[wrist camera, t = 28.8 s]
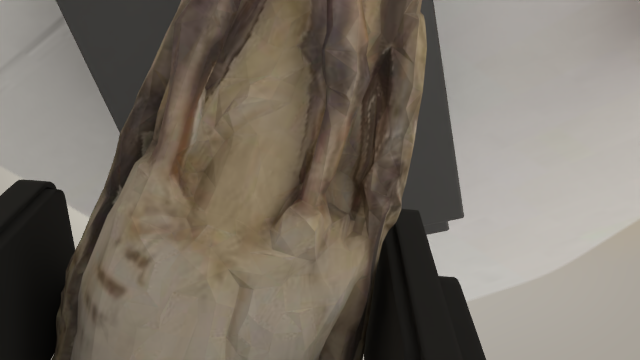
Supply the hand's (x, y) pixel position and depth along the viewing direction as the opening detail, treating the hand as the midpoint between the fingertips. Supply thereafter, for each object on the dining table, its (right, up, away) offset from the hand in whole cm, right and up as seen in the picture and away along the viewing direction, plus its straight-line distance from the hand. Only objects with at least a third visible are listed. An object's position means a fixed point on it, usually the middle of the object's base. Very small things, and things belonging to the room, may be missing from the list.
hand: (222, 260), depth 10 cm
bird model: (-1, -4, -3) cm, 5 cm away
